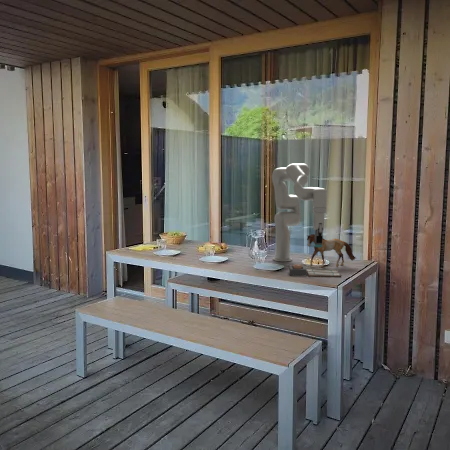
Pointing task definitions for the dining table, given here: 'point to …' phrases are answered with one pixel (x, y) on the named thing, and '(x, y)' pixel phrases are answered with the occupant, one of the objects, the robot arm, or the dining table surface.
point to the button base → (297, 271)
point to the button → (297, 266)
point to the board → (322, 273)
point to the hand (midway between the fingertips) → (318, 241)
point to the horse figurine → (330, 248)
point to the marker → (315, 240)
